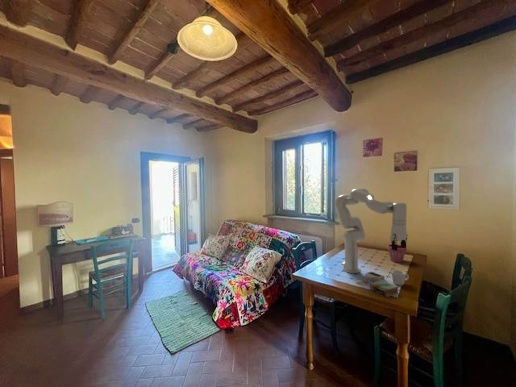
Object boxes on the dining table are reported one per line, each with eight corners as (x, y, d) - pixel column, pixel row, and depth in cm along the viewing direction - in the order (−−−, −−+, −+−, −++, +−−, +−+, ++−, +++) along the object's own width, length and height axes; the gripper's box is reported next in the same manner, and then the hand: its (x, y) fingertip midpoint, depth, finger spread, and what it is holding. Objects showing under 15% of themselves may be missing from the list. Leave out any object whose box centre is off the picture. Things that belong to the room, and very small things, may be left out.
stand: (369, 289, 145) (369, 282, 144) (379, 285, 149) (379, 279, 149) (388, 297, 134) (388, 290, 134) (398, 293, 139) (398, 286, 139)
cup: (404, 280, 156) (404, 269, 156) (412, 286, 148) (412, 274, 148) (389, 281, 156) (389, 270, 156) (396, 286, 148) (396, 274, 148)
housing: (365, 279, 159) (365, 273, 159) (371, 278, 162) (371, 271, 162) (379, 285, 151) (379, 277, 151) (384, 283, 154) (384, 276, 153)
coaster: (353, 282, 156) (354, 281, 156) (360, 279, 159) (360, 279, 159) (362, 285, 150) (362, 285, 150) (369, 283, 153) (369, 283, 153)
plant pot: (410, 261, 193) (410, 247, 193) (398, 264, 188) (398, 249, 188) (394, 257, 207) (394, 243, 206) (383, 259, 202) (383, 245, 201)
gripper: (400, 220, 150) (400, 245, 151) (385, 222, 142) (385, 249, 142) (413, 221, 143) (412, 248, 144) (397, 224, 135) (397, 252, 136)
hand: (399, 248), depth 143 cm, fingers open, 9 cm apart
